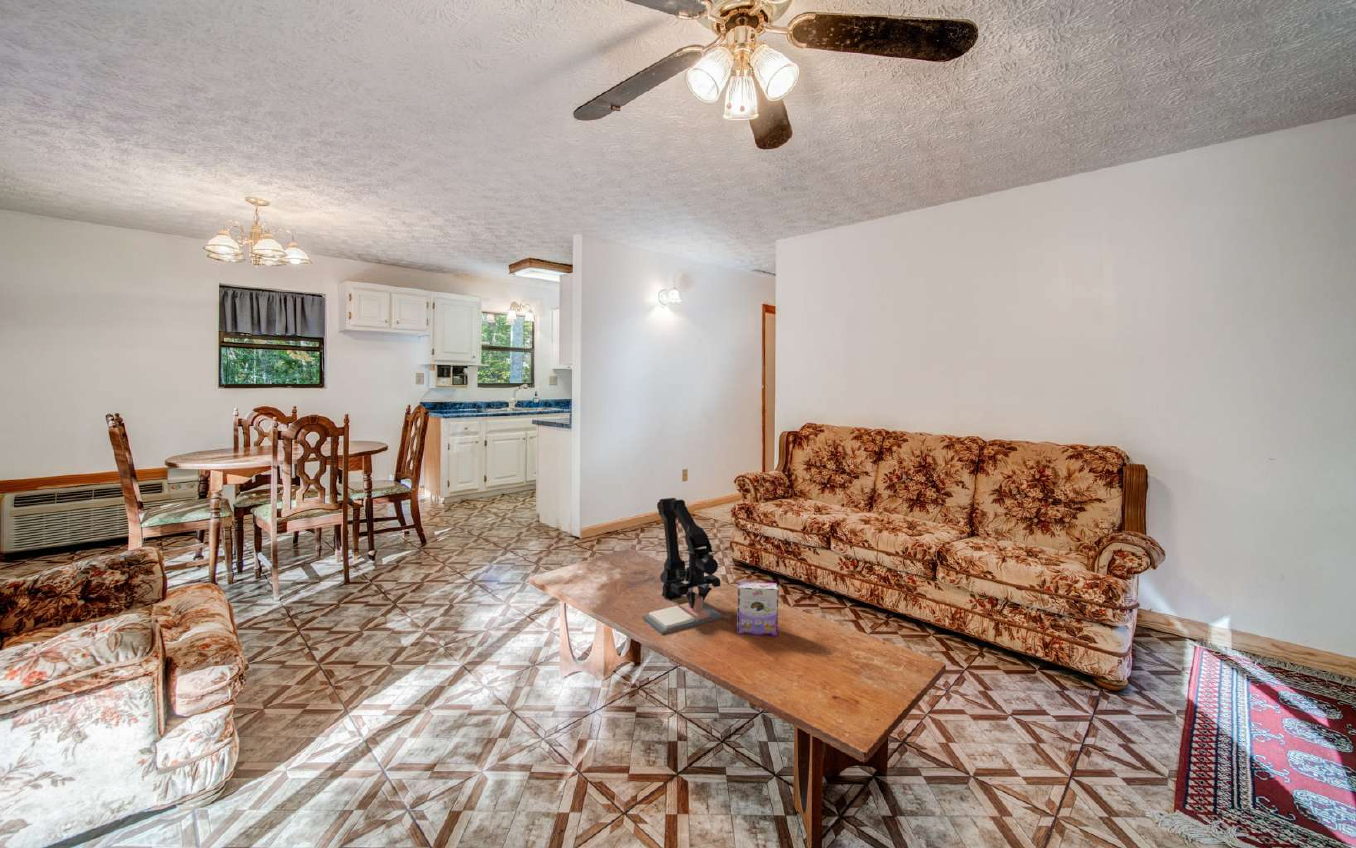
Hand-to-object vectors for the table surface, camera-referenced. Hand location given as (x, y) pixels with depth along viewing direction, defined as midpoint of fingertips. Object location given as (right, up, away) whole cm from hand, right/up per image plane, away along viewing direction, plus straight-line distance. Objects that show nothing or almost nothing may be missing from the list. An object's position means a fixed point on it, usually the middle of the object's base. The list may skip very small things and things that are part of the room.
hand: (695, 607), depth 193 cm
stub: (0, -2, 0) cm, 2 cm away
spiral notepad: (-9, -2, -5) cm, 10 cm away
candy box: (+21, -5, -11) cm, 24 cm away
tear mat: (-5, -3, -3) cm, 6 cm away
